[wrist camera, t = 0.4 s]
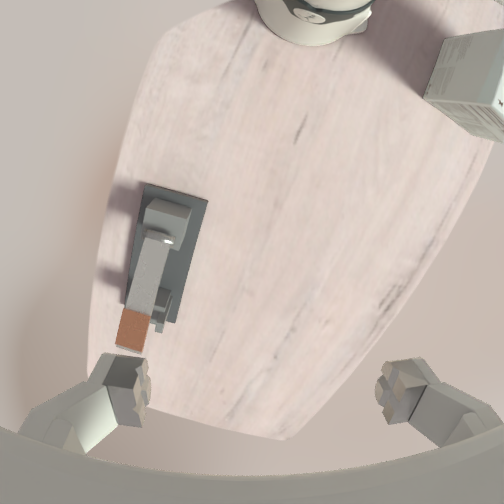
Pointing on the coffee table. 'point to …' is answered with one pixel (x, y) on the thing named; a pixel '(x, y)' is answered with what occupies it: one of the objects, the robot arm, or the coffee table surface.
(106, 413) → the robot arm
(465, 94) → the supplement box
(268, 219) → the coffee table surface
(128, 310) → the bar
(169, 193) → the base
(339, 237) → the coffee table surface
